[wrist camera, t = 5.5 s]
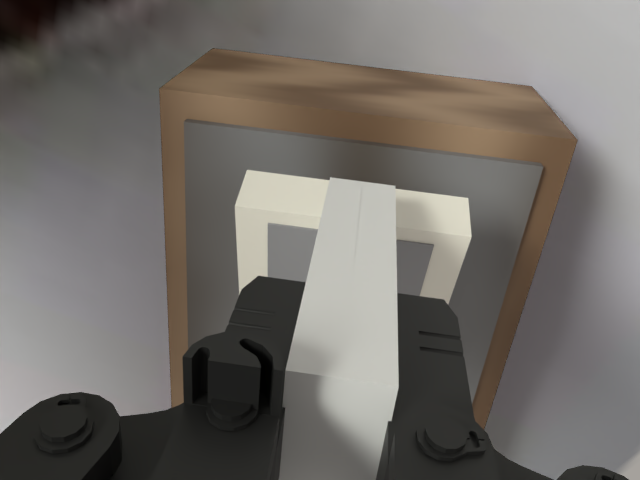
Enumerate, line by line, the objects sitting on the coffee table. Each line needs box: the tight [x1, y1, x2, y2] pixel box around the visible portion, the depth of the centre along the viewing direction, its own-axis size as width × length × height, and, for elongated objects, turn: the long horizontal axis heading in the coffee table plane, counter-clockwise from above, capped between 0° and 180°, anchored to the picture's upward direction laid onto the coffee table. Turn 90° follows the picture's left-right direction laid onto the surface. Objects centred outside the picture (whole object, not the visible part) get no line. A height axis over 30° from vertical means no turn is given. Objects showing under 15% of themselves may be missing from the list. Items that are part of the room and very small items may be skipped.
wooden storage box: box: [159, 48, 577, 430], centre depth 26 cm, size 12×31×7 cm, turn 175°
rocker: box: [235, 170, 472, 304], centre depth 17 cm, size 6×8×2 cm
